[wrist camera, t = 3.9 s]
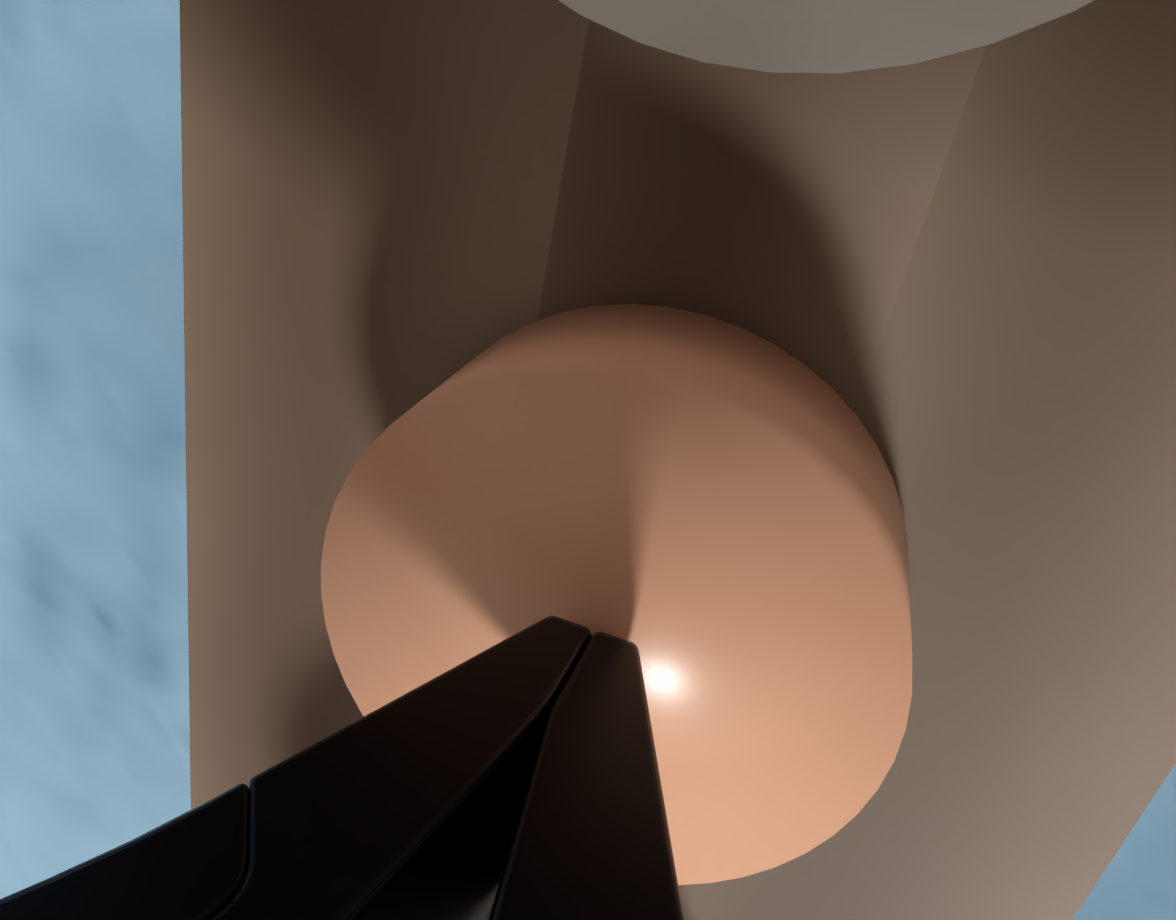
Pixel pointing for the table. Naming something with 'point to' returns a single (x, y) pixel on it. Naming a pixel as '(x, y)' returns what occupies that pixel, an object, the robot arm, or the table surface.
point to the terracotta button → (650, 560)
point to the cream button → (819, 29)
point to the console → (746, 299)
